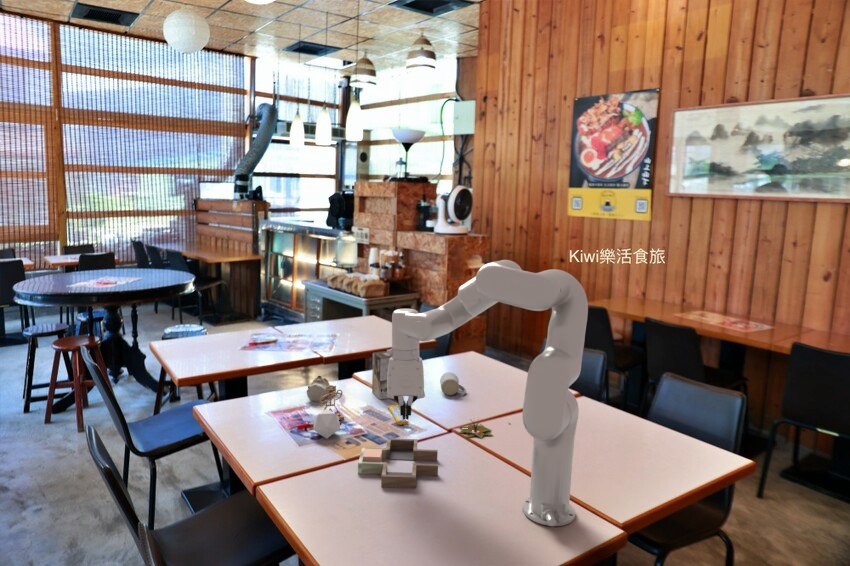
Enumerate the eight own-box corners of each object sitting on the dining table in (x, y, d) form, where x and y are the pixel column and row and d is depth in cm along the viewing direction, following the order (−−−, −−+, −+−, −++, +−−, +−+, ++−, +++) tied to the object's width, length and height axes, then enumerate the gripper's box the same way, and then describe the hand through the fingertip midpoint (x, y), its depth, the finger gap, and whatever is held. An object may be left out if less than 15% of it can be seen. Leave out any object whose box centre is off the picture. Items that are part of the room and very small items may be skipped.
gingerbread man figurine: (318, 422, 192) (318, 388, 191) (316, 418, 196) (316, 384, 194) (344, 419, 196) (344, 386, 194) (341, 415, 199) (342, 382, 197)
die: (345, 438, 182) (344, 408, 187) (330, 433, 175) (329, 403, 180) (323, 443, 185) (323, 413, 190) (307, 439, 178) (307, 408, 182)
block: (380, 470, 161) (380, 457, 160) (362, 470, 161) (362, 456, 160) (381, 462, 166) (382, 449, 165) (364, 461, 166) (364, 448, 165)
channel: (438, 488, 151) (438, 478, 151) (354, 486, 151) (354, 475, 151) (436, 449, 175) (437, 439, 175) (364, 446, 175) (364, 437, 175)
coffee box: (395, 397, 219) (396, 356, 216) (379, 399, 216) (380, 358, 214) (386, 390, 227) (387, 350, 225) (371, 392, 224) (371, 352, 222)
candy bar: (409, 426, 193) (409, 420, 193) (397, 427, 192) (397, 421, 192) (398, 408, 209) (398, 403, 209) (386, 409, 208) (386, 404, 208)
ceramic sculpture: (300, 379, 209) (311, 370, 224) (300, 403, 210) (310, 391, 225) (329, 381, 208) (338, 371, 223) (328, 404, 209) (337, 393, 224)
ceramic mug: (440, 396, 222) (441, 377, 221) (439, 389, 230) (440, 371, 229) (466, 397, 222) (468, 378, 221) (465, 390, 230) (466, 372, 229)
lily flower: (463, 442, 182) (464, 428, 181) (452, 427, 194) (453, 414, 193) (499, 439, 185) (499, 425, 184) (486, 425, 196) (486, 412, 196)
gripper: (377, 357, 155) (377, 422, 157) (433, 357, 154) (432, 422, 157) (379, 350, 162) (380, 412, 164) (432, 350, 162) (432, 413, 164)
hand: (405, 417), depth 161 cm, fingers closed
